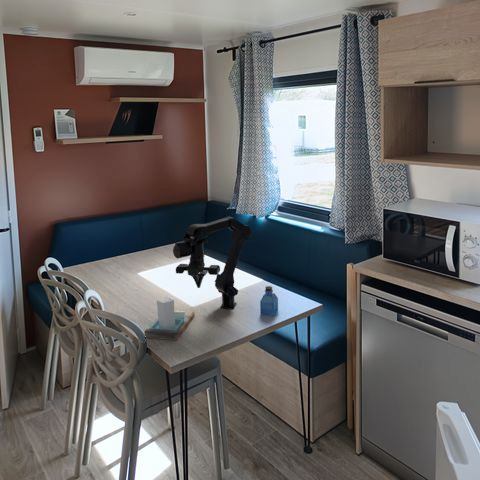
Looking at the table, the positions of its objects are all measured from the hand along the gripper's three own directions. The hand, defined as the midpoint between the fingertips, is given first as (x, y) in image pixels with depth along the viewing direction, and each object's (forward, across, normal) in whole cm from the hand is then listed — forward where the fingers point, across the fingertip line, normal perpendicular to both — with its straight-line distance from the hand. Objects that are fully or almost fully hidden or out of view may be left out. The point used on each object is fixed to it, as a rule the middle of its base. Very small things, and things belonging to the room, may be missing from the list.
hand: (198, 287), depth 224 cm
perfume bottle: (+13, +30, +7) cm, 34 cm away
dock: (+13, -9, -14) cm, 21 cm away
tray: (+12, -9, -15) cm, 22 cm away
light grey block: (+12, -9, -18) cm, 23 cm away
